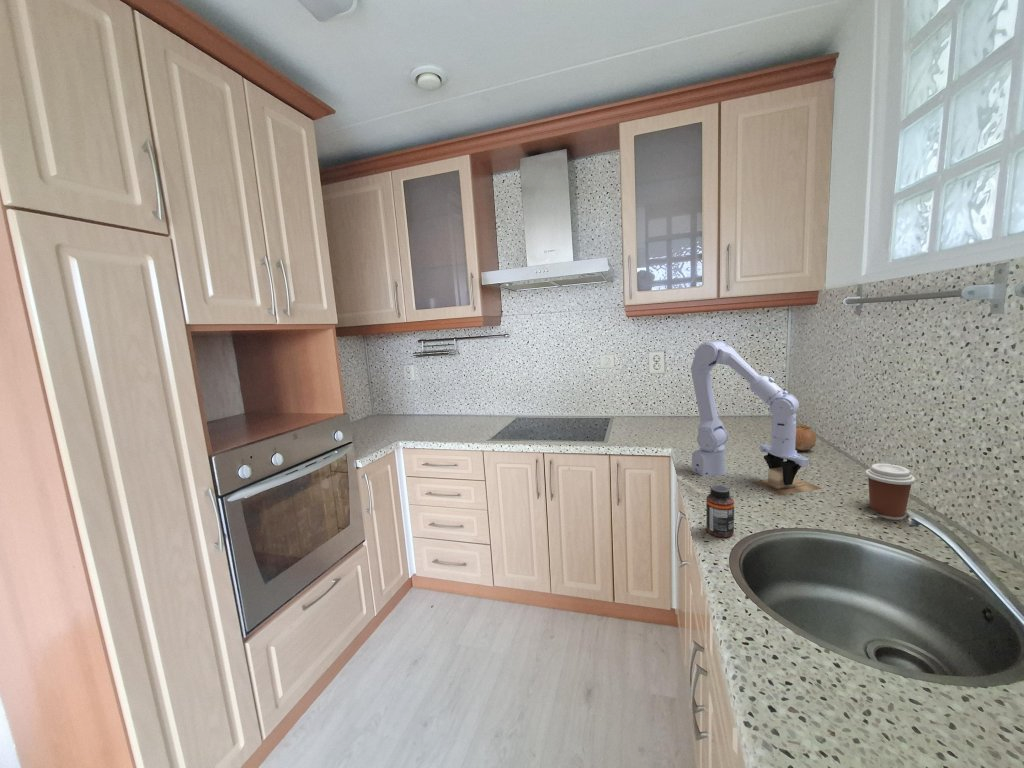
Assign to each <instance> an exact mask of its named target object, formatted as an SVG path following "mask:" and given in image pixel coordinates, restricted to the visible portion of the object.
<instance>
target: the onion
mask: <svg viewBox="0 0 1024 768" xmlns="http://www.w3.org/2000/svg"><path fill="white" fill-rule="evenodd" d="M816 442H817V435H816V433H815V432H814V431H813V430H812V429H811V427H809V426H806V425H804V424H797V425H796V440H795V450H796V451H802V452H803V451H808V450H811V449H813V448H814V447H815V446H816Z"/></svg>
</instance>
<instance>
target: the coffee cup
mask: <svg viewBox="0 0 1024 768" xmlns="http://www.w3.org/2000/svg"><path fill="white" fill-rule="evenodd" d="M864 475H865V476H866V477H867V481H868V499H869V500H868V502H869V503H868V504H869V507H870V509H872V510H873V511H876V512H878V513H873V515H874V516H877V517H879V518H882V519H886V520H893V521H894V520H895V521H896V520H897V521H899V520H900V519H901V520H904V519H905V517H906V513H905V511H906V512H907V507H908V502H909V497H910V493H911V492H910V491H911V487H912V485H913V484H915V483H916V480H917V478H915V476H914V475H912V474H911V470H909V469H908V468H907V467H904V466H900V465H896V464H890V463H873V464H872V465H870V468H868V469H866V470H865V471H864ZM903 518H904V519H903Z"/></svg>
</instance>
